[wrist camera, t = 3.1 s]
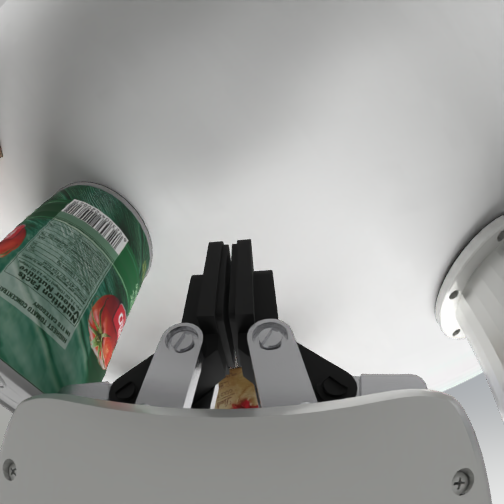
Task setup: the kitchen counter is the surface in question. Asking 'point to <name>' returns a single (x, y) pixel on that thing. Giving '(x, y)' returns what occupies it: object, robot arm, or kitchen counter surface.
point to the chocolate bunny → (236, 392)
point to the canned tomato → (68, 290)
